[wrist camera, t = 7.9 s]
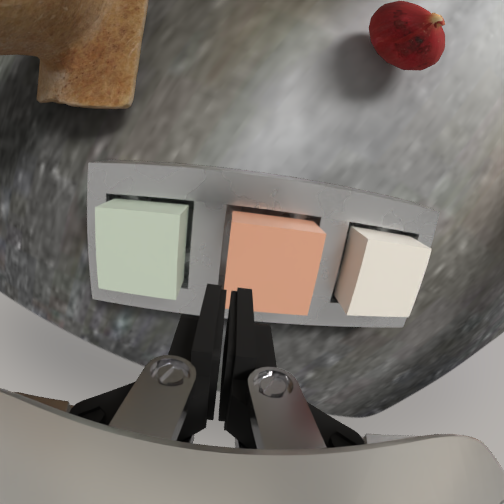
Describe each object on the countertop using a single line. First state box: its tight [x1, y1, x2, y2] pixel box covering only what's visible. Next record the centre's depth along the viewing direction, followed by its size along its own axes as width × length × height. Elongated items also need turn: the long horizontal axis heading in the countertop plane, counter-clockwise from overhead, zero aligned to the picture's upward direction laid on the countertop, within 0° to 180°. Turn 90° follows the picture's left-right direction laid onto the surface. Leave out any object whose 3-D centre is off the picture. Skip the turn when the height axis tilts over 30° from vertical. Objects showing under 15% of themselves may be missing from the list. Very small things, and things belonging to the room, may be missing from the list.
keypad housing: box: [87, 160, 439, 327], centre depth 21 cm, size 25×10×4 cm, turn 82°
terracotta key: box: [224, 211, 326, 315], centre depth 18 cm, size 5×5×3 cm
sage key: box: [95, 198, 189, 300], centre depth 17 cm, size 5×5×3 cm
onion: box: [369, 1, 445, 70], centre depth 14 cm, size 6×6×8 cm
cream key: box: [334, 226, 432, 317], centre depth 19 cm, size 5×5×3 cm
